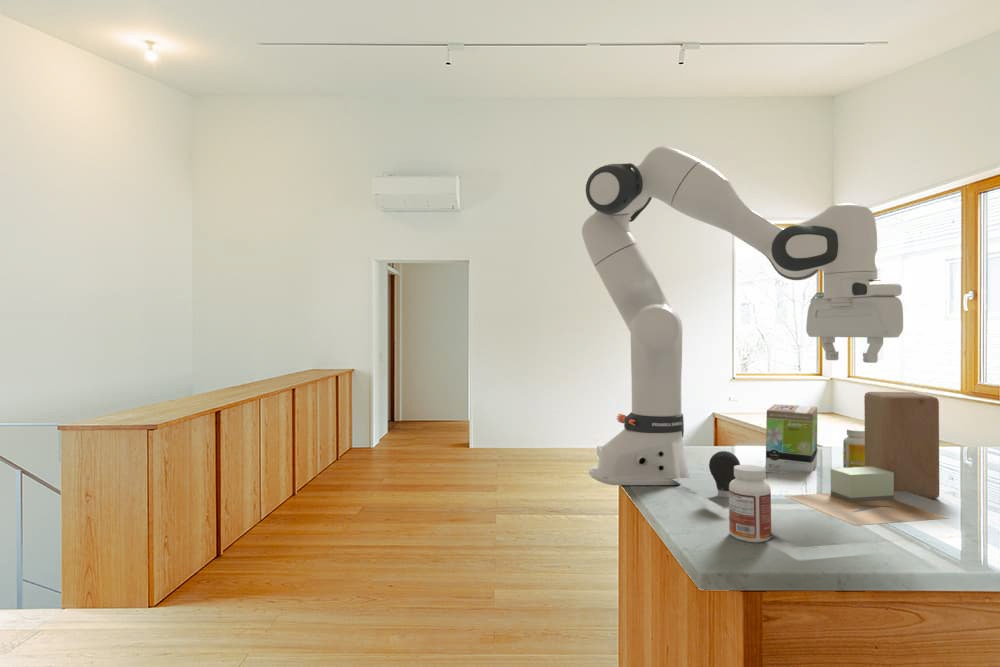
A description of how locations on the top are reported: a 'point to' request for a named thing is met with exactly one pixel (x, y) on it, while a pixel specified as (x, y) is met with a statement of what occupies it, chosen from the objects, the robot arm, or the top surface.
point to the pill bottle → (750, 504)
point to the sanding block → (862, 484)
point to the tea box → (791, 438)
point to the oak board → (865, 510)
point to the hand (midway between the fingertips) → (850, 361)
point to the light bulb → (723, 471)
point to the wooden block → (904, 439)
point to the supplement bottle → (854, 448)
